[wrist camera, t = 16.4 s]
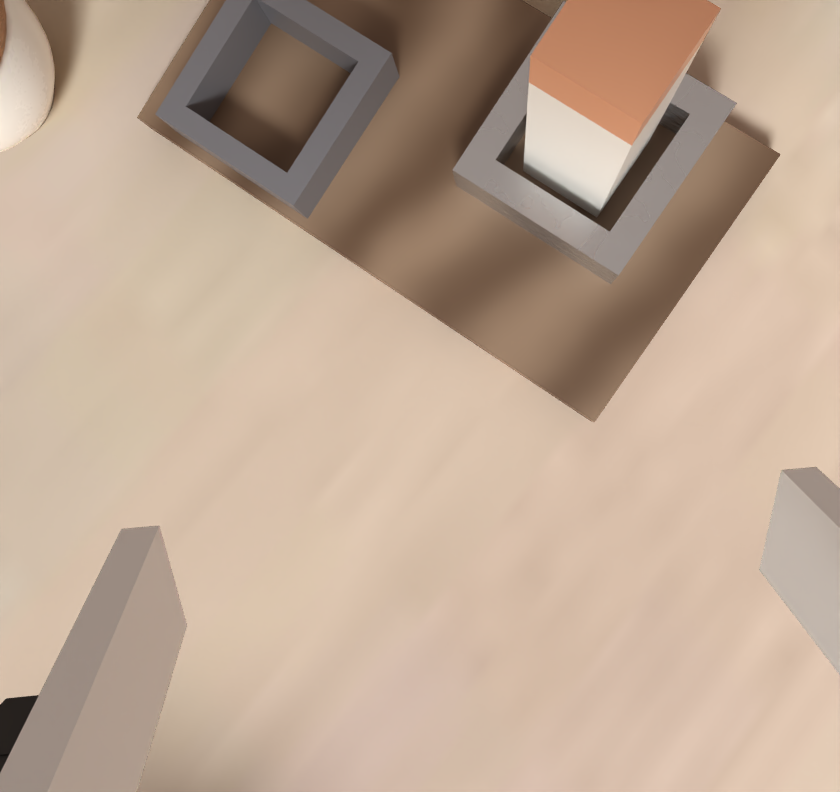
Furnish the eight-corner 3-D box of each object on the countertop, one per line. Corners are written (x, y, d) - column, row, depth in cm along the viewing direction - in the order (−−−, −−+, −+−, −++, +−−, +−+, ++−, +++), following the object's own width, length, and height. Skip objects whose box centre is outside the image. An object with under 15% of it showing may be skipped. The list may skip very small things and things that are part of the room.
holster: (178, 133, 38) (155, 114, 35) (265, -7, 37) (248, -36, 35) (307, 218, 37) (293, 205, 35) (399, 76, 36) (391, 53, 34)
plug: (523, 171, 36) (530, 55, 24) (573, 96, 35) (606, -59, 23) (596, 217, 35) (642, 123, 23) (648, 142, 35) (721, 8, 23)
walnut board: (151, 128, 40) (137, 117, 38) (301, -115, 39) (293, -136, 37) (591, 421, 36) (594, 421, 35) (769, 164, 35) (780, 154, 34)
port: (456, 185, 36) (452, 169, 34) (559, 28, 35) (563, 0, 33) (610, 284, 35) (618, 275, 32) (720, 124, 34) (736, 103, 32)
